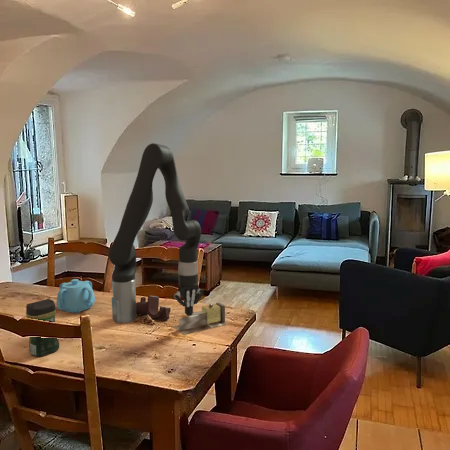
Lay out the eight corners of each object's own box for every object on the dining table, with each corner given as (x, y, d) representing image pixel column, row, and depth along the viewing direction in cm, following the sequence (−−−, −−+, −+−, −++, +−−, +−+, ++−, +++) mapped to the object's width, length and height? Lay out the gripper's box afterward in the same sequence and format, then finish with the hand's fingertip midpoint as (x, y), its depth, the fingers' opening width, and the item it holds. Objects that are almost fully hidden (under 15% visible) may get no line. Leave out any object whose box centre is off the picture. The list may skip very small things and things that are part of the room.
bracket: (163, 319, 186) (164, 294, 189) (132, 319, 195) (133, 296, 198) (172, 320, 191) (174, 296, 194) (142, 320, 200) (143, 297, 203)
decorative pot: (60, 304, 213) (58, 275, 211) (96, 301, 216) (95, 273, 213) (54, 317, 197) (52, 286, 195) (93, 314, 200) (91, 283, 197)
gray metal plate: (197, 320, 192) (197, 317, 192) (190, 315, 197) (190, 313, 197) (213, 316, 196) (213, 314, 196) (206, 312, 201) (206, 309, 201)
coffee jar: (52, 344, 170) (48, 295, 166) (62, 350, 164) (59, 300, 161) (25, 352, 163) (21, 302, 160) (35, 359, 157) (31, 307, 154)
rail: (183, 337, 175) (183, 317, 173) (172, 328, 183) (171, 309, 182) (228, 326, 185) (228, 307, 184) (215, 318, 193) (215, 300, 192)
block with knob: (207, 324, 183) (207, 307, 181) (202, 320, 186) (201, 304, 185) (220, 320, 186) (220, 304, 185) (214, 317, 189) (214, 301, 188)
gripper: (198, 267, 184) (199, 309, 187) (168, 272, 177) (169, 315, 180) (208, 271, 178) (208, 314, 181) (177, 277, 171) (178, 321, 174)
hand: (188, 315), depth 181 cm, fingers closed
